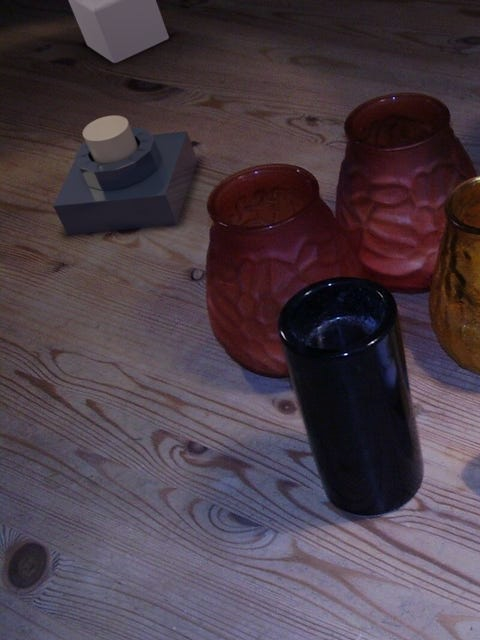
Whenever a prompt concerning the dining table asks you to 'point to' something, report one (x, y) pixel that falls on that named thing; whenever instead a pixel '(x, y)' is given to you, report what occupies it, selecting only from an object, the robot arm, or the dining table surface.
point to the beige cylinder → (110, 139)
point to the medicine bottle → (119, 26)
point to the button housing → (128, 186)
